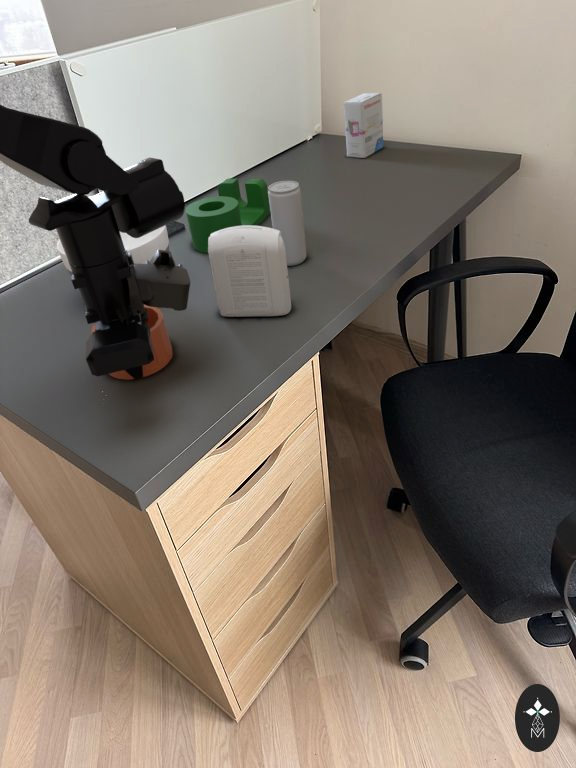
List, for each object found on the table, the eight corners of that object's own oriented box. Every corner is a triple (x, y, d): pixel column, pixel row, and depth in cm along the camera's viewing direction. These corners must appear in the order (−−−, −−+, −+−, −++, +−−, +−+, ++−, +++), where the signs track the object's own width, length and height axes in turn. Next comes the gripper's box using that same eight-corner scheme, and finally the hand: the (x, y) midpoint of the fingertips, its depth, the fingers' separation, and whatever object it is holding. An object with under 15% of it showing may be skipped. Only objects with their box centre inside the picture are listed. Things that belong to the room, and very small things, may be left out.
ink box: (365, 145, 136) (364, 91, 128) (384, 147, 133) (383, 92, 126) (345, 156, 131) (343, 100, 123) (364, 158, 128) (362, 101, 121)
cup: (105, 386, 69) (90, 349, 66) (104, 349, 76) (91, 313, 73) (176, 369, 71) (165, 332, 67) (169, 333, 78) (159, 298, 74)
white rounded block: (294, 301, 81) (284, 218, 73) (290, 317, 77) (279, 231, 70) (224, 304, 82) (207, 222, 75) (217, 320, 79) (199, 236, 72)
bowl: (147, 259, 98) (132, 204, 92) (200, 285, 88) (186, 226, 82) (61, 296, 90) (38, 239, 84) (108, 330, 80) (86, 268, 74)
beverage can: (306, 265, 89) (299, 189, 82) (276, 268, 90) (266, 193, 82) (306, 252, 93) (299, 178, 86) (277, 254, 93) (268, 181, 86)
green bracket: (230, 254, 96) (224, 217, 92) (184, 251, 99) (175, 215, 95) (270, 212, 108) (266, 178, 104) (228, 211, 111) (222, 178, 108)
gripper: (185, 275, 52) (218, 406, 61) (166, 209, 66) (195, 323, 76) (61, 303, 50) (114, 433, 60) (70, 229, 65) (111, 343, 74)
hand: (138, 376), depth 67 cm, fingers closed
